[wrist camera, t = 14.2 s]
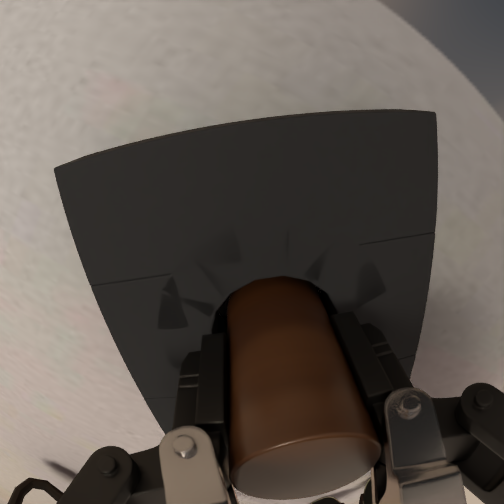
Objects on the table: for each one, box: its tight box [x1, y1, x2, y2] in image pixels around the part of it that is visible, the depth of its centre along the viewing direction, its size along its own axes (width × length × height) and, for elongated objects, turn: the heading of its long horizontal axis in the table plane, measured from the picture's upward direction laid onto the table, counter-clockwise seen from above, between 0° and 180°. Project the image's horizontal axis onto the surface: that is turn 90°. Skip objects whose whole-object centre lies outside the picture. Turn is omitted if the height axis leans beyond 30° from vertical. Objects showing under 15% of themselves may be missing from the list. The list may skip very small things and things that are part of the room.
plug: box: [227, 276, 382, 500], centre depth 9 cm, size 4×4×7 cm
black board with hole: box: [54, 109, 438, 435], centre depth 12 cm, size 14×12×2 cm
